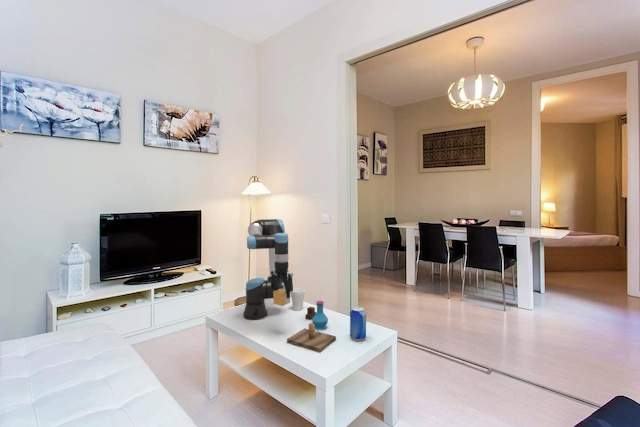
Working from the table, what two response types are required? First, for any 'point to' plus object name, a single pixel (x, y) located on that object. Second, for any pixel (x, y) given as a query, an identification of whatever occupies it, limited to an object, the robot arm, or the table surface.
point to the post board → (311, 339)
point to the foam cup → (297, 298)
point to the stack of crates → (310, 313)
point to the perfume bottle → (320, 317)
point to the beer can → (358, 324)
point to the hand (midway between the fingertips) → (281, 302)
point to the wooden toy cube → (279, 297)
